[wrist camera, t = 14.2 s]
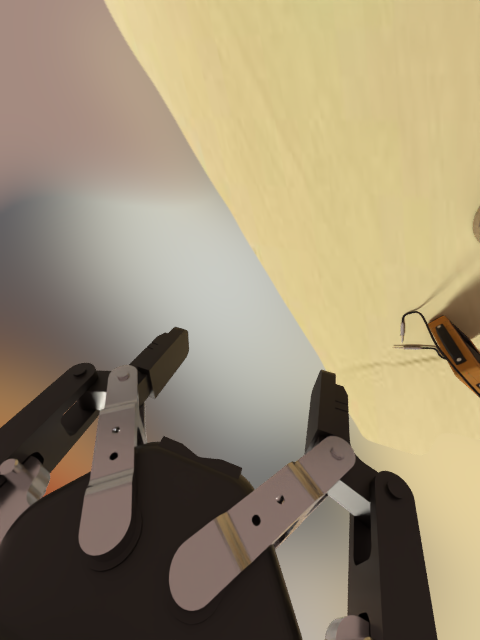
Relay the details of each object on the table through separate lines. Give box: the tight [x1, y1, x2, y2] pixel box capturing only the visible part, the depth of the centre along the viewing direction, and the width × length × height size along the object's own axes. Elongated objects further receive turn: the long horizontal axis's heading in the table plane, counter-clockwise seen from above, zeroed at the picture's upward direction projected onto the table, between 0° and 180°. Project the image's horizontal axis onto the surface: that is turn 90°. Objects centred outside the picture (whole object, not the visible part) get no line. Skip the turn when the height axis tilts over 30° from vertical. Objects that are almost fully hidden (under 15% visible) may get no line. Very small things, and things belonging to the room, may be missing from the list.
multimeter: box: [393, 311, 480, 397], centre depth 36 cm, size 15×10×20 cm
